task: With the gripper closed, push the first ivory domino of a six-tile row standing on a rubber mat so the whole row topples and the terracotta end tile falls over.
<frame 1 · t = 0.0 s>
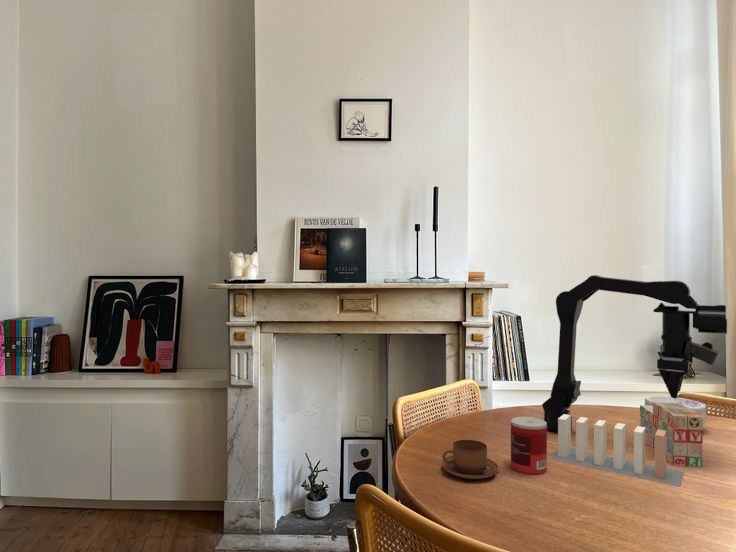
hand: (675, 394, 120), 15 cm above the table, tool pointing down, fingers open, 9 cm apart
canned food: (528, 471, 108), on the table
cup and saucer: (469, 473, 107), on the table
domino 4: (619, 465, 110), point 1 cm above the table, touching mat
stack of blocks: (668, 454, 120), on the table
domino 5: (639, 470, 107), point 1 cm above the table, touching mat
domino 2: (582, 457, 115), point 1 cm above the table, touching mat
paper bowls: (674, 428, 142), on the table
domino 3: (600, 461, 112), point 1 cm above the table, touching mat
domino 1: (564, 454, 117), point 1 cm above the table, touching mat
mat: (614, 467, 110), on the table
domino 6: (660, 474, 105), point 1 cm above the table, touching mat
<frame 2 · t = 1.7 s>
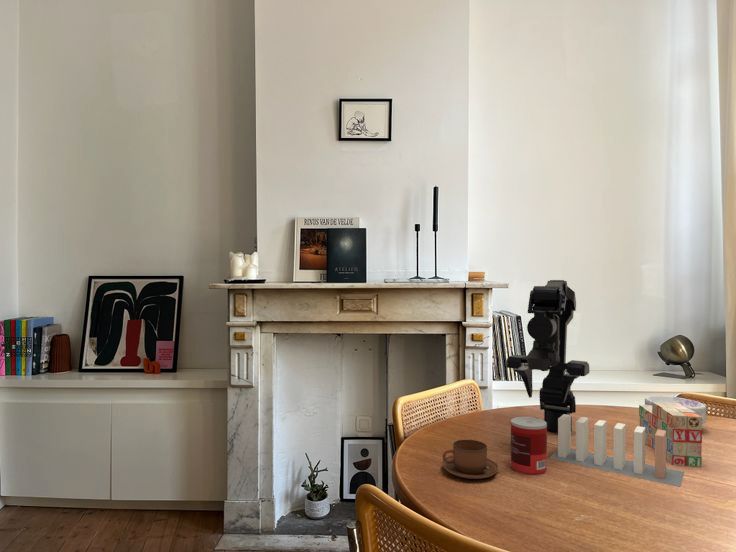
hand: (546, 399, 120), 13 cm above the table, tool pointing down, fingers open, 8 cm apart
nothing on the table moved.
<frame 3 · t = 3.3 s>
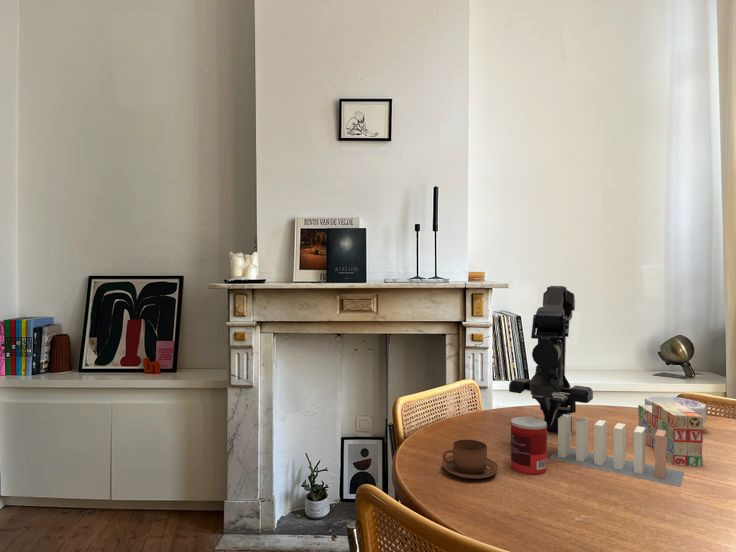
hand: (549, 424, 119), 7 cm above the table, tool pointing down, fingers closed
nothing on the table moved.
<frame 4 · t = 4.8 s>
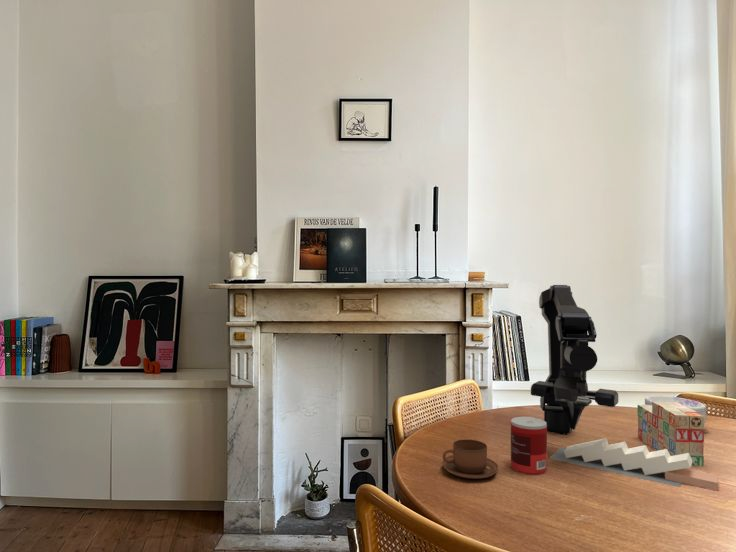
hand: (573, 429, 116), 7 cm above the table, tool pointing down, fingers closed
domino 4: (624, 463, 109), point 1 cm above the table, tilted 66°, touching domino 3, domino 5, mat
domino 5: (644, 467, 107), point 1 cm above the table, tilted 66°, touching domino 4, domino 6, mat
domino 2: (585, 455, 114), point 1 cm above the table, tilted 67°, touching domino 1, domino 3, mat
domino 3: (605, 459, 112), point 1 cm above the table, tilted 67°, touching domino 2, domino 4, mat
domino 1: (567, 451, 117), point 1 cm above the table, tilted 67°, touching domino 2, mat
domino 6: (666, 471, 104), point 1 cm above the table, tilted 91°, touching domino 5, mat
everything else where it was.
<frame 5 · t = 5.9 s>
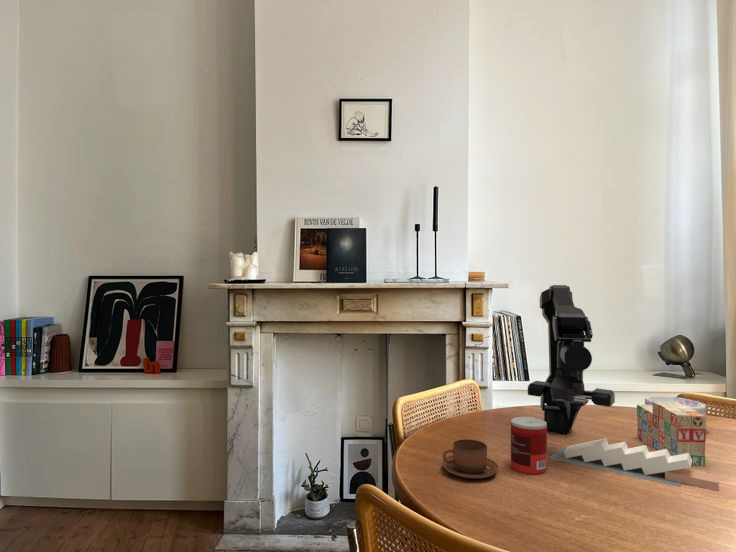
hand: (569, 428, 116), 7 cm above the table, tool pointing down, fingers closed
nothing on the table moved.
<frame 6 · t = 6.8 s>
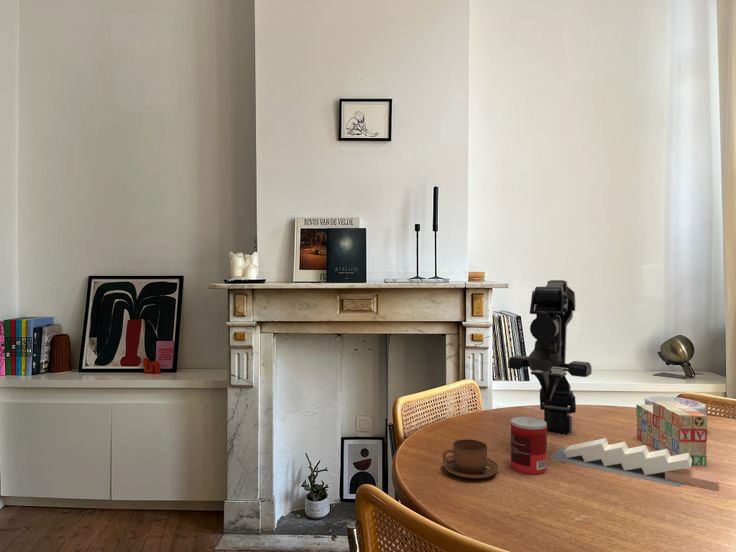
hand: (548, 400, 120), 13 cm above the table, tool pointing down, fingers closed
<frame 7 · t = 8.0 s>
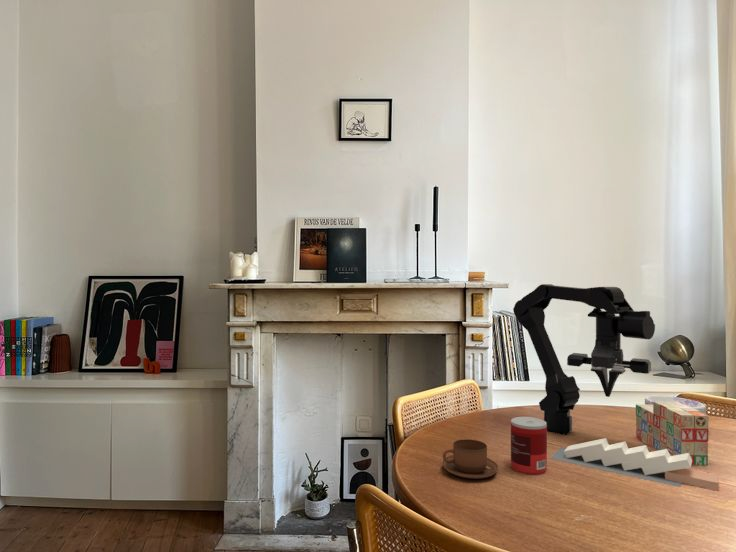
hand: (607, 396, 124), 13 cm above the table, tool pointing down, fingers closed
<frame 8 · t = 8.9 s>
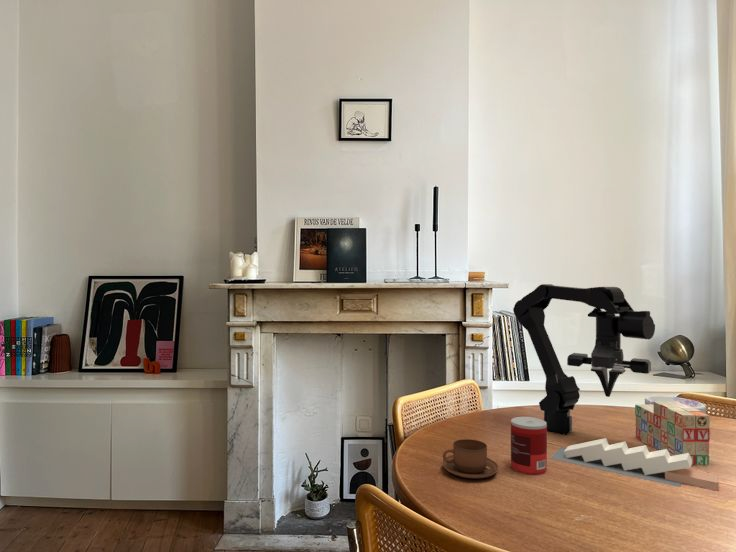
hand: (607, 396, 124), 13 cm above the table, tool pointing down, fingers closed
at the end: domino 6 tilted 90°; domino 1 tilted 67° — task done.
